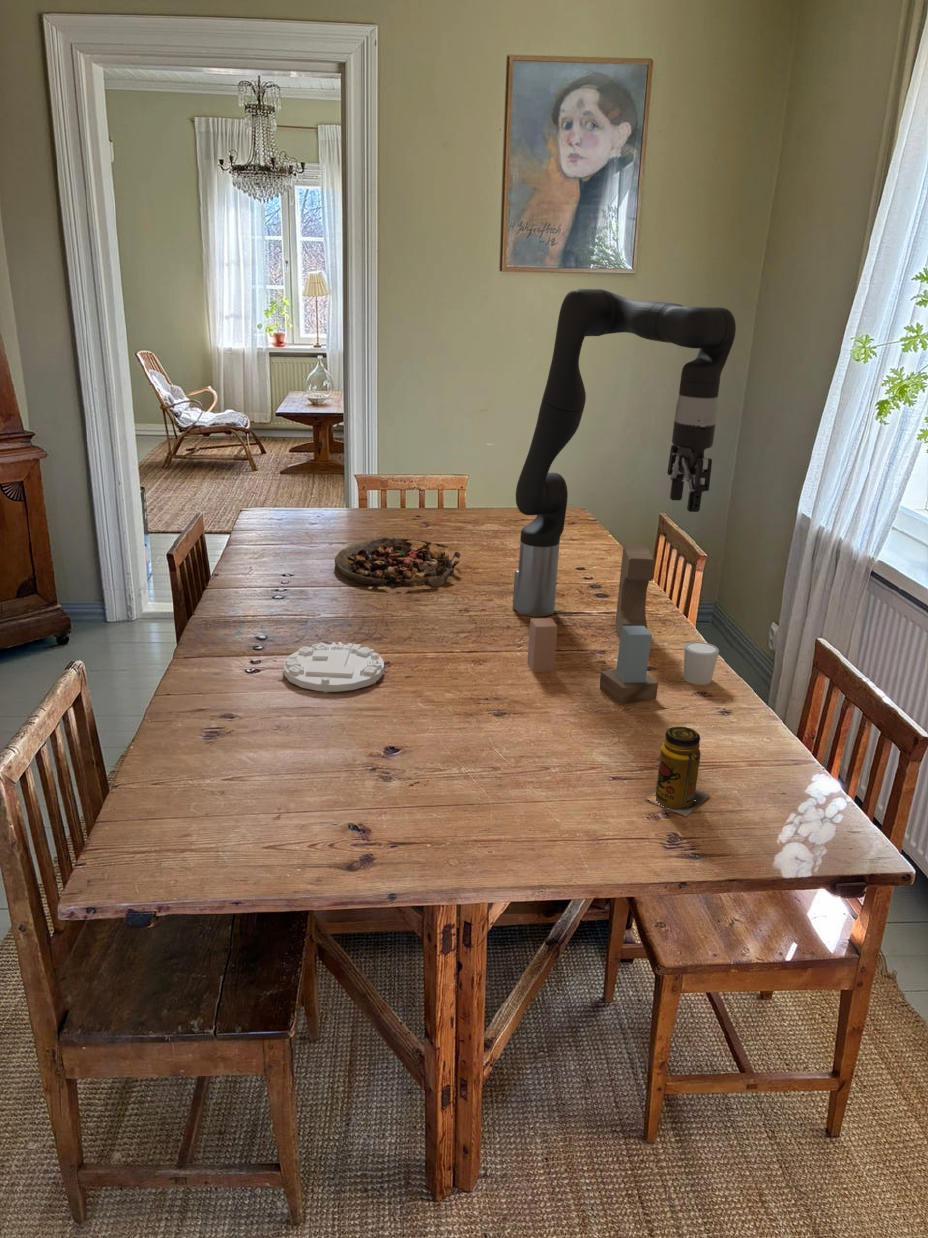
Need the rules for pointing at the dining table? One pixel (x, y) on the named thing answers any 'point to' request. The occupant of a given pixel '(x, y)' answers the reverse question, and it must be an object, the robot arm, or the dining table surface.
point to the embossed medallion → (334, 667)
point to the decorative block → (634, 586)
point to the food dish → (395, 563)
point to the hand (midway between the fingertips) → (684, 505)
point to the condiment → (679, 772)
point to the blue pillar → (633, 654)
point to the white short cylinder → (699, 662)
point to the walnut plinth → (627, 688)
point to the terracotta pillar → (542, 644)
